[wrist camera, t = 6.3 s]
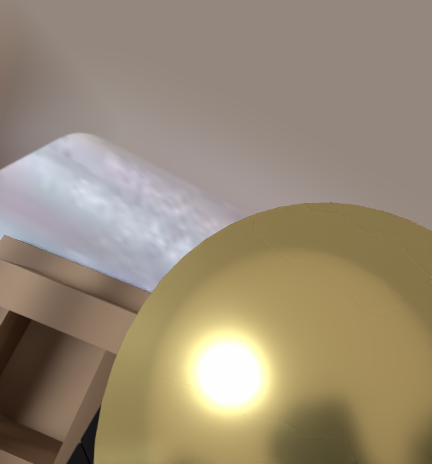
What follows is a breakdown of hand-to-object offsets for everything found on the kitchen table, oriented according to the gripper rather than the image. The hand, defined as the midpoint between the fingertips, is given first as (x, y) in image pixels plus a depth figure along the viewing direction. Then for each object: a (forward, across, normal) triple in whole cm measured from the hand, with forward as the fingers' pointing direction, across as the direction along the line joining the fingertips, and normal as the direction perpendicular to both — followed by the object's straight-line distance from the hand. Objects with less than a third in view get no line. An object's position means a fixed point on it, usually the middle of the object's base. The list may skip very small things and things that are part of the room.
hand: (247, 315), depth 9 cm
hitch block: (+8, +11, +11) cm, 18 cm away
